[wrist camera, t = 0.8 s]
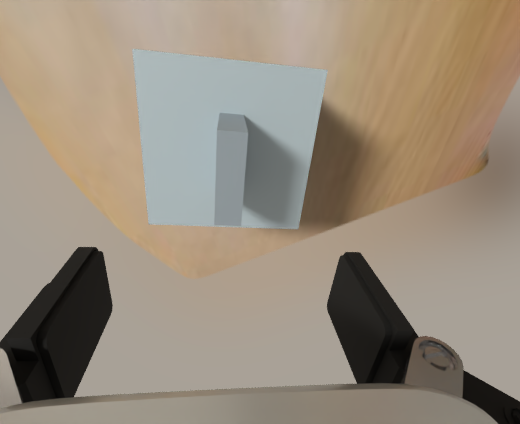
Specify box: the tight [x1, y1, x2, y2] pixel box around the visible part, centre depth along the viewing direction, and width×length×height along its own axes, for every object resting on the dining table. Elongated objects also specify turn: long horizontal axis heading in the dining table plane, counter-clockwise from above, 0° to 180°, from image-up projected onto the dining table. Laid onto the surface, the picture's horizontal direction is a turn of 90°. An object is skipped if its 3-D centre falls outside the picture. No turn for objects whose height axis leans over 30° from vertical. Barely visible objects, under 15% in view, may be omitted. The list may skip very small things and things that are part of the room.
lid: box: [132, 49, 328, 229], centre depth 24 cm, size 15×15×9 cm
